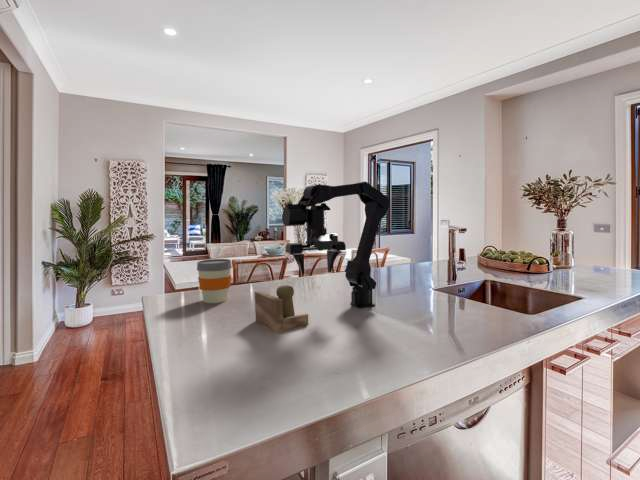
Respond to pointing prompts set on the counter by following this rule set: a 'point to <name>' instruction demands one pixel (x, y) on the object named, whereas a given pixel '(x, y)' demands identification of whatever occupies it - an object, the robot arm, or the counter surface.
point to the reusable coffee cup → (214, 279)
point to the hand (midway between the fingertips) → (316, 273)
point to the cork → (286, 300)
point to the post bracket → (275, 313)
